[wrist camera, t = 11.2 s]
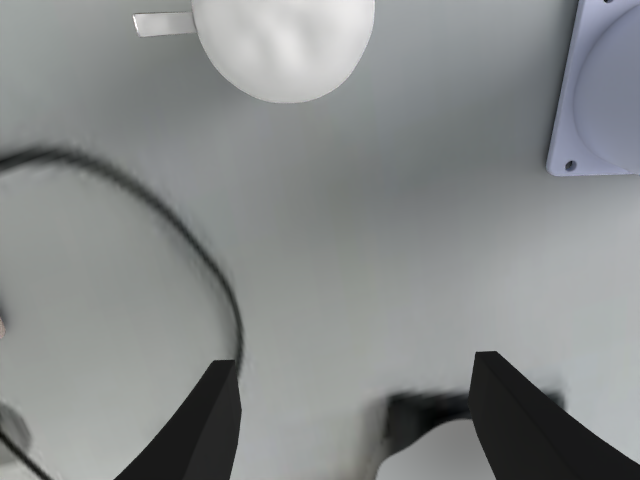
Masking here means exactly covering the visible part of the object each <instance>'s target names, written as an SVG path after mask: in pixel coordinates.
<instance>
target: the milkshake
mask: <svg viewBox="0 0 640 480" xmlns="http://www.w3.org/2000/svg"><path fill="white" fill-rule="evenodd" d="M191 1H192V11H193V12H161V13H135V14H133V15H132V18H133V22H134V26H135V29H136V33H137V35H138V37H155V36H166V35H176V34H187V33H198V36H199V38H200V41H201V43H202V46H203V48H204V50H205V52H206V54H207V56H208V57H209V59H210V61H211V62H212V64H213V65H214V66H215V68H216V69H217V70H218V71H219V72H220V74H221V75H222V76H223V77H225V78H226V79H227V80H228V81H229V82H230V83H232V84H233V85H234V86H236V87H237V88H238V89H240V90H242V91H243V92H245V93H247V94H249V95H251V96H253V97H255V98H258V99H260V100H263V101H267V102H272V103H300V102H306V101H311V100H314V99H317V98H320V97H322V96H324V95H326V94H328V93H330V92H331V91H333V90H334V89H336V88H337V87H338V86H340V85H341V84H342V83H343V82H344V81H345V80H346V79H347V78H348V77H349V76H350V74H351V73H352V72H353V70H354V68H355V67H356V65H357V64H358V62H359V60H360V58H361V56H362V54H363V52H364V50H365V48H366V46H367V44H368V41H369V39H370V36H371V33H372V29H373V23H374V13H375V0H191Z"/></svg>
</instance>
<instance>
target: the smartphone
mask: <svg viewBox="0 0 640 480" xmlns="http://www.w3.org/2000/svg"><path fill="white" fill-rule="evenodd" d="M5 332H6V330H5V327H4V324H3V321H2V319H1V316H0V339H1V338H2V337H3V336H4V335H5Z"/></svg>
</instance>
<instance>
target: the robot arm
mask: <svg viewBox="0 0 640 480" xmlns="http://www.w3.org/2000/svg"><path fill="white" fill-rule="evenodd" d="M569 161H572V165H571V167H569V168H568V169H565V166H566V164H567V163H568V162H569ZM546 169H547V171H548V172H549V173H550V174H552V175H553V176H583V175H615V174H637V175H639V176H640V0H608V1H607V2H604V0H579V4H578V9H577V14H576V19H575V24H574V29H573V34H572V38H571V43H570V48H569V53H568V58H567V63H566V68H565V73H564V78H563V83H562V88H561V93H560V98H559V103H558V108H557V113H556V118H555V123H554V128H553V133H552V138H551V143H550V148H549V153H548V158H547V163H546ZM468 406H469V409H470V413H471V416H472V420H473V423H474V426H475V430H476V433H477V436H478V438H479V441H480V443H481V445H482V448H483V450H484V452H485V455H486V457H487V459H488V462H489V464H490V466H491V468H492V470H493V473H494V475H495V477H496V480H640V465H639V464H638V463H636V462H635V461H633V460H631V459H630V458H628V457H627V456H625V455H624V454H622V453H621V452H619V451H618V450H617V449H615V448H614V447H612V446H611V445H609V444H608V443H606V442H605V441H603V440H602V439H601V438H599V437H598V436H596V435H595V434H594V433H592V432H591V431H590V430H588V429H587V428H586V427H584V426H583V425H582V424H581V423H579V422H578V421H577V420H575V419H574V418H573V417H572V416H570V415H569V414H568V413H566V412H565V411H564V410H563V409H562V408H560V407H559V406H558V405H557V404H555V403H554V402H553V401H552V400H551V399H550V398H548V397H547V396H546V395H545V394H544V393H543V392H541V391H540V390H539V389H538V388H537V387H536V386H535V385H533V384H532V383H531V382H530V381H529V380H528V379H527V378H526V377H524V376H523V375H522V374H521V373H520V372H519V371H518V370H517V369H516V368H514V367H513V366H512V365H511V364H510V363H509V362H508V361H507V360H506V359H505V358H503V357H502V356H501V355H500V354H499V353H498V352H497V351H487V352H476V354H475V360H474V366H473V372H472V379H471V385H470V391H469V397H468ZM241 412H242V409H241V402H240V395H239V388H238V381H237V374H236V367H235V360H214V361H213V362H212V363H211V364H210V366H209V367H208V369H207V370H206V371H205V373H204V374H203V376H202V377H201V379H200V380H199V382H198V383H197V384H196V386H195V387H194V389H193V390H192V391H191V393H190V394H189V395H188V397H187V398H186V399H185V401H184V402H183V403H182V405H181V406H180V407H179V409H178V410H177V411H176V412H175V414H174V415H173V416H172V417H171V419H170V420H169V421H168V422H167V423H166V425H165V426H164V427H163V428H162V429H161V431H160V432H159V433H158V434H157V435H156V436H155V438H154V439H153V440H152V441H151V442H150V443H149V444H148V446H147V447H146V448H145V449H144V450H143V451H142V452H141V453H140V454H139V455H138V456H137V457H136V458H135V459H134V460H133V461H132V462H131V463H130V464H129V465H128V466H127V467H126V468H125V469H124V470H123V471H122V472H121V473H120V474H119V475H118V476H117V477H116V478H115V479H114V480H229V479H230V475H231V471H232V467H233V462H234V458H235V454H236V449H237V445H238V438H239V430H240V421H241Z"/></svg>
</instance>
